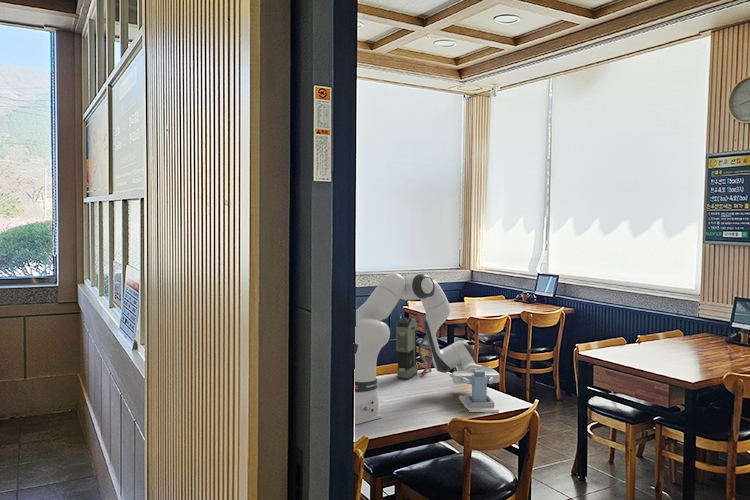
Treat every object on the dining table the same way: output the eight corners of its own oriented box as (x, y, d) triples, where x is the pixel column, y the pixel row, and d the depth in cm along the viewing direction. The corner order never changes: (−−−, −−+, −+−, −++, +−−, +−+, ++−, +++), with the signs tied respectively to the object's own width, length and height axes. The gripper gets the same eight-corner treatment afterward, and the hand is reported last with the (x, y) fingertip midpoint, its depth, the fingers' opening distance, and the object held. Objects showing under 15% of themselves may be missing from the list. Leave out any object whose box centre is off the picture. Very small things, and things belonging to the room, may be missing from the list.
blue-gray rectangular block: (486, 405, 238) (486, 372, 238) (474, 405, 238) (475, 372, 237) (483, 401, 243) (483, 369, 242) (471, 402, 243) (472, 369, 242)
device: (408, 380, 282) (408, 320, 281) (394, 378, 285) (394, 319, 284) (418, 373, 295) (418, 316, 294) (404, 372, 298) (404, 315, 297)
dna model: (414, 373, 295) (415, 316, 294) (423, 370, 302) (423, 313, 301) (430, 376, 290) (430, 317, 289) (438, 372, 297) (438, 315, 296)
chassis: (498, 412, 233) (498, 404, 233) (469, 413, 232) (469, 405, 232) (485, 398, 253) (485, 390, 253) (458, 398, 252) (458, 391, 252)
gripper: (448, 367, 252) (455, 375, 238) (494, 366, 253) (503, 374, 240) (448, 381, 252) (455, 390, 238) (494, 380, 254) (503, 389, 240)
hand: (479, 382), depth 239 cm, fingers open, 8 cm apart
